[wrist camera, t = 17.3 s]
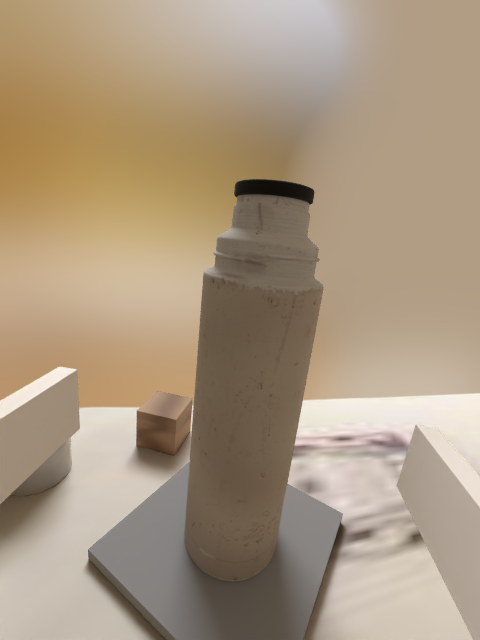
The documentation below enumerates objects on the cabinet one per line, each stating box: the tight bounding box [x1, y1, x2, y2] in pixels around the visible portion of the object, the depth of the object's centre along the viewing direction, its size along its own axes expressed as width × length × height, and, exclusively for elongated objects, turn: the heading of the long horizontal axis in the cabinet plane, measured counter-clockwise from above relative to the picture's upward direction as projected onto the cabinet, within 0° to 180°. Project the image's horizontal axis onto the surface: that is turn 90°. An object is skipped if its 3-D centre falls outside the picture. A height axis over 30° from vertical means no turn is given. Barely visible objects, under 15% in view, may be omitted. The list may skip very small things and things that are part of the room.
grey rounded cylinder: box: [11, 438, 72, 496], centre depth 30 cm, size 6×6×8 cm
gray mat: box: [88, 462, 343, 640], centre depth 26 cm, size 16×16×1 cm
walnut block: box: [136, 391, 192, 455], centre depth 37 cm, size 5×5×5 cm
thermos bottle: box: [184, 179, 323, 582], centre depth 22 cm, size 8×8×28 cm
